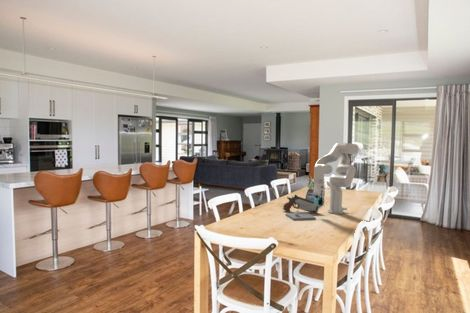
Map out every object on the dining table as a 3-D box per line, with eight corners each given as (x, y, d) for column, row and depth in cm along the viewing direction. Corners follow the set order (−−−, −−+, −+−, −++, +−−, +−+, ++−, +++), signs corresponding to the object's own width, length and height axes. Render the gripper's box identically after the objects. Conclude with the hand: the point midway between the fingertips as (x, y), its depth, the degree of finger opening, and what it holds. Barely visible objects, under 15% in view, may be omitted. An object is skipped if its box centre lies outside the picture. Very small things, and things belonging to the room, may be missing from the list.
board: (306, 214, 265) (306, 207, 265) (315, 219, 250) (315, 212, 249) (285, 215, 261) (285, 208, 261) (293, 220, 246) (293, 213, 245)
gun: (314, 221, 270) (320, 204, 268) (282, 209, 274) (288, 192, 273) (314, 219, 274) (320, 202, 273) (282, 208, 279) (288, 191, 277)
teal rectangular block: (320, 203, 261) (320, 197, 261) (323, 205, 256) (323, 198, 255) (313, 204, 260) (313, 197, 259) (317, 205, 254) (317, 199, 254)
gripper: (328, 182, 249) (328, 206, 250) (318, 179, 265) (317, 201, 267) (319, 183, 247) (319, 206, 249) (309, 179, 264) (309, 201, 265)
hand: (318, 203), depth 258 cm, fingers closed on teal rectangular block, 5 cm apart
